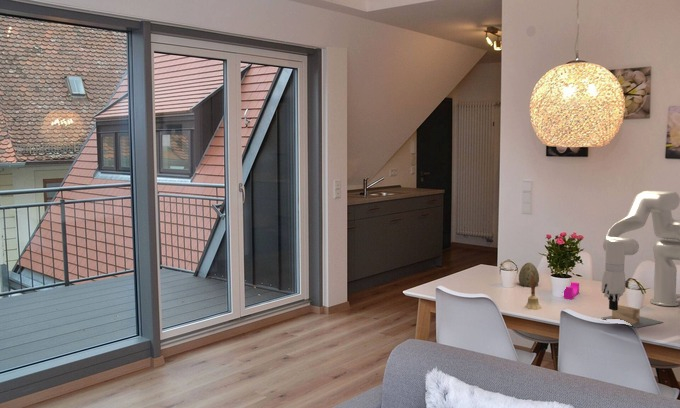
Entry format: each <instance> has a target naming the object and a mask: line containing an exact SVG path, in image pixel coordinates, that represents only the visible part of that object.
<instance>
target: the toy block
mask: <svg viewBox="0 0 680 408" xmlns="http://www.w3.org/2000/svg"><path fill="white" fill-rule="evenodd" d="M570 283H571V285H570V284H569V285H570V286H567V287H566V289H565V290H564V289H563V292H564V296H563V300H569V301H570V300H573V299H574V298H576V296H578V294H580V282H574V281H573V282H572V281H571V282H570Z"/></svg>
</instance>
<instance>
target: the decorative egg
mask: <svg viewBox="0 0 680 408" xmlns="http://www.w3.org/2000/svg"><path fill="white" fill-rule="evenodd" d="M532 276H535V280H536V286H535V288H536V287H537V286H538V285H539V282H540V274H539V271H538V269H537V267H536V266H535V265H534V264H533V263H532V262H527V263H525V264H523V265H522V266H521V269H520V271H519V274H518V281H519V284H520V286H521V287H525V288H531V285H530V280H531V277H532Z"/></svg>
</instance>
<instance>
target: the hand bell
mask: <svg viewBox="0 0 680 408" xmlns="http://www.w3.org/2000/svg"><path fill="white" fill-rule="evenodd" d="M530 285H531V287H530V288H531V290H530V292H531V293H530V294H531V295H530V296H528V299H527V303H526V305H524V308H525V309H527V310H542V309H543V307H542V306H541V305H540V302H539V297H537V296H536V289H535V288H536V287H537V286H536V280H535V276H532V277H531V280H530ZM535 286H536V287H535Z"/></svg>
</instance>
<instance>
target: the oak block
mask: <svg viewBox="0 0 680 408" xmlns="http://www.w3.org/2000/svg"><path fill="white" fill-rule="evenodd" d="M640 313H641V309H640V308H636V307H632V306H628V305H623V304H618V310H615V311H614V310H611V316H612V319H620V320H624V321H626V322H628V323H630V324H636V323H639V319H640V316H641V314H640Z"/></svg>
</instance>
